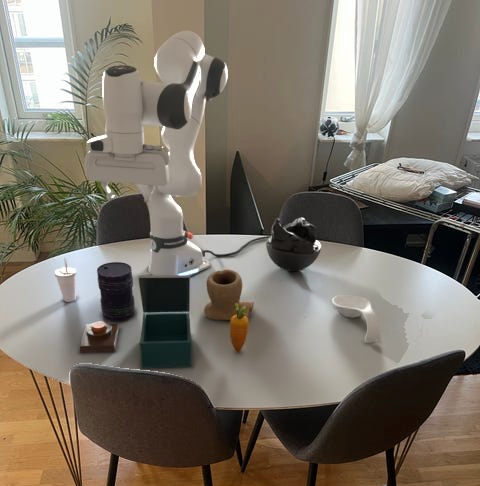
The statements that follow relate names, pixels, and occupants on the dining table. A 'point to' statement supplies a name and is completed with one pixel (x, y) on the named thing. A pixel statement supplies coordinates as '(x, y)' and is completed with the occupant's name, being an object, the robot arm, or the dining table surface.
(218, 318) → the stone cup
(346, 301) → the spoon rest
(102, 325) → the button
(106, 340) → the button block
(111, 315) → the oil barrel
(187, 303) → the lid
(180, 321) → the tea tin
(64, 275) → the smoothie
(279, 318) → the dining table surface
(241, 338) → the carrot
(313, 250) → the coal bowl
